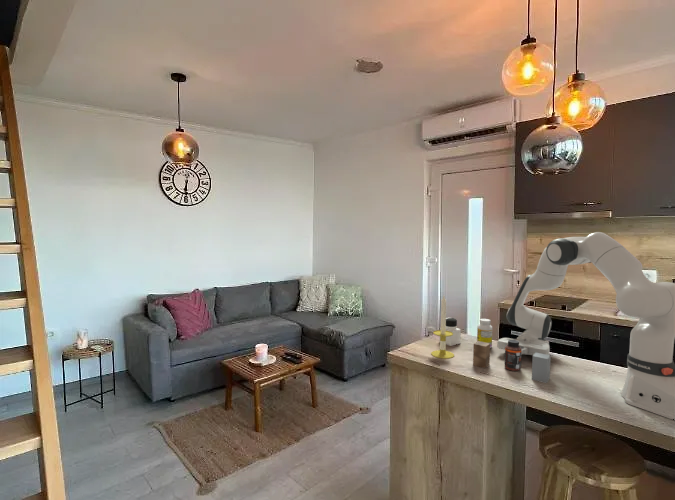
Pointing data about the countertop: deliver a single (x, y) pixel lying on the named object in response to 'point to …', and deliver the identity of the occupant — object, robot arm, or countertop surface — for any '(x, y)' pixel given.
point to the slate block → (541, 367)
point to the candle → (443, 335)
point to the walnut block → (481, 354)
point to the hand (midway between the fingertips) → (518, 352)
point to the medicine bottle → (452, 327)
